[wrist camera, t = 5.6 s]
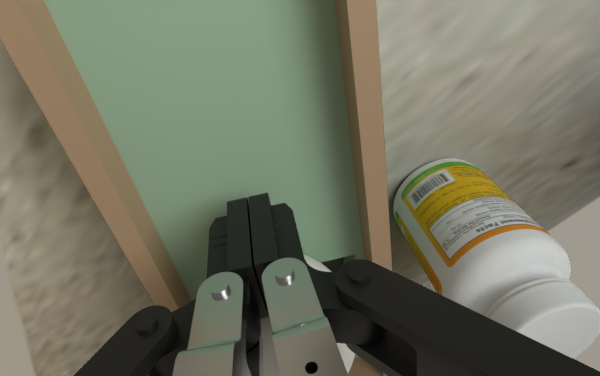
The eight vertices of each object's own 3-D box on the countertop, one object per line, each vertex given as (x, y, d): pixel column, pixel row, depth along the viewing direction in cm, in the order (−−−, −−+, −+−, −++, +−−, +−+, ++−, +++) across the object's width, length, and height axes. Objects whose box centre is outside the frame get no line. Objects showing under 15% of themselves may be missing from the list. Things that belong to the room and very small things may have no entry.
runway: (317, -110, 14) (368, -133, 9) (366, 297, 26) (399, 382, 21) (50, -54, 14) (-49, -47, 9) (225, 332, 26) (224, 427, 21)
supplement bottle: (461, 235, 25) (575, 382, 16) (380, 232, 23) (460, 390, 15) (496, 158, 22) (655, 290, 14) (407, 151, 21) (522, 291, 13)
